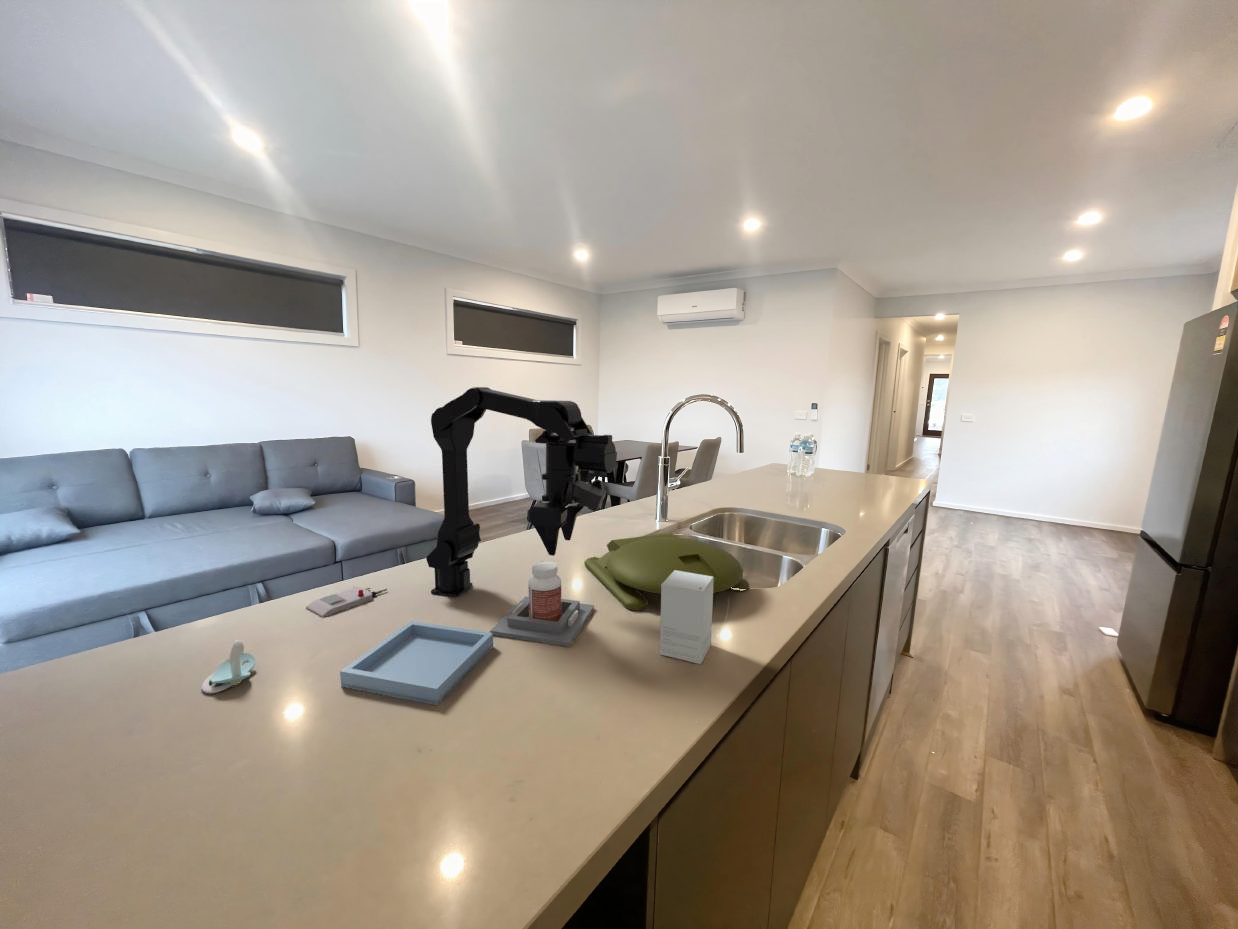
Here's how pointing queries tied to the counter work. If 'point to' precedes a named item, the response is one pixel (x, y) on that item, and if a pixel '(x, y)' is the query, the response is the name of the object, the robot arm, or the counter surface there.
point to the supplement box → (686, 616)
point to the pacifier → (230, 669)
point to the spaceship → (661, 566)
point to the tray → (418, 662)
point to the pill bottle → (545, 592)
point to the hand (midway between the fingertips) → (560, 547)
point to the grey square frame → (544, 623)
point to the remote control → (341, 601)
